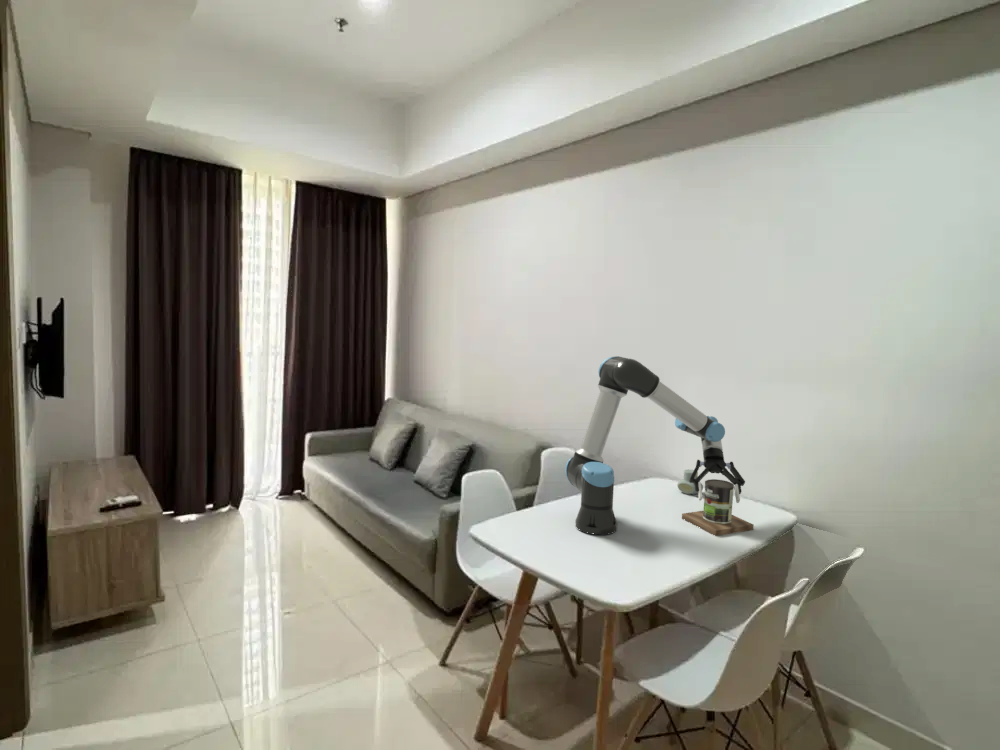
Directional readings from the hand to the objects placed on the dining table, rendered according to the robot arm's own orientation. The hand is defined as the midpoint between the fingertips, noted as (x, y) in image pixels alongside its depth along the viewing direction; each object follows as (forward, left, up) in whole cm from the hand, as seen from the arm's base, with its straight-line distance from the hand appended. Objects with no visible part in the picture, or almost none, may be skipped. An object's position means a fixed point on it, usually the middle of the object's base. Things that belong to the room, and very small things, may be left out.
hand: (719, 500), depth 207 cm
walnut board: (0, +1, -10) cm, 10 cm away
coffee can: (0, +1, -8) cm, 8 cm away
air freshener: (+16, +35, -10) cm, 40 cm away
